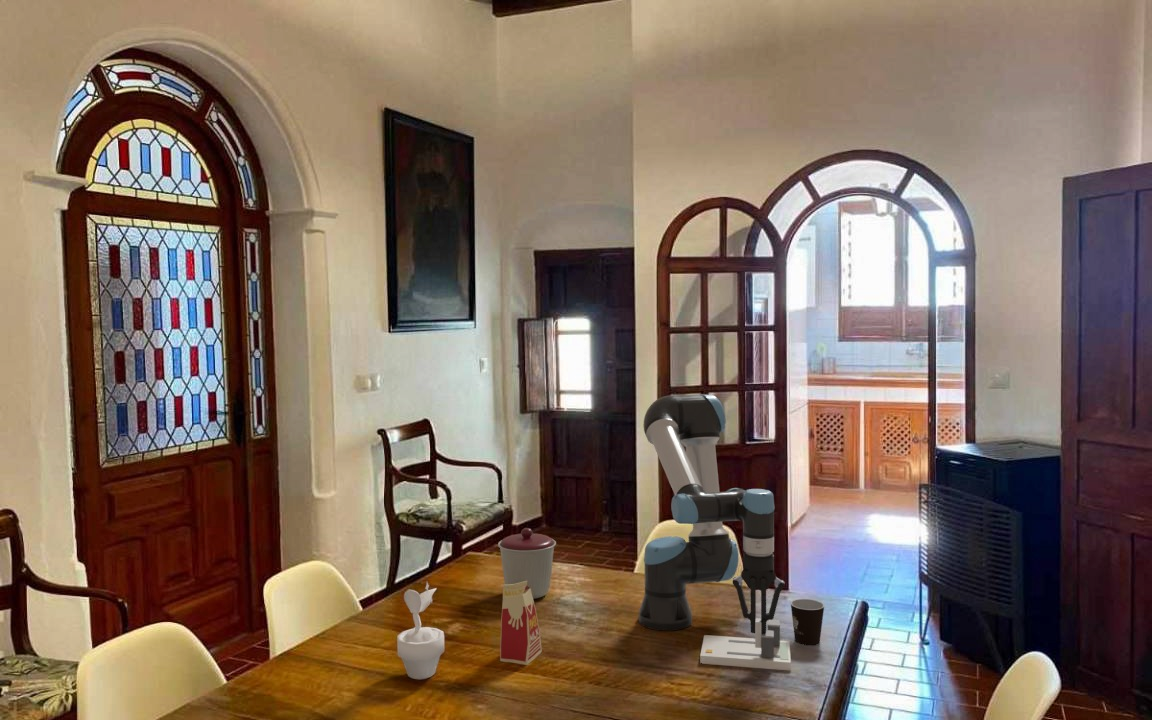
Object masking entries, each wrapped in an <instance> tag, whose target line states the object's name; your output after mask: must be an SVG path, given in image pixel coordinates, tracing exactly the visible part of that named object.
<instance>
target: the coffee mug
mask: <svg viewBox="0 0 1152 720" xmlns="http://www.w3.org/2000/svg"><path fill="white" fill-rule="evenodd" d="M790 607H791V610H790V611H791V616H792V617H791V618H792V624H793V633H794V634H793V635H794V641H795V643H796V644H798V645H801V646H807V647H812V646H817V645H819V644H820V643H821V635H822V627H823V621H824V620H823V618H824V611H825V604H824V603H823V602H822V601H818V600H817V599H816V600H815V599H811V598H810V599H809V598H798V599H794V600H791V602H790Z"/></svg>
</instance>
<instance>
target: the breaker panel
mask: <svg viewBox="0 0 1152 720" xmlns="http://www.w3.org/2000/svg"><path fill="white" fill-rule="evenodd" d="M699 656H700V657H699V659H700V660H699V662H700V663H699V664H701V663H702V664H703V665H704V664H705V665H715V666H716V665H717V666H728V667H731V666H732V667H741V668H752V669H753V668H755V669H766V670H767V669H768V670H780V671H792V669H791V668H792V666H791V665H792V659H791V645H790V640H781V639H780V646H774V658H767V657H761V648H755V638H752V637H738V636H737V637H736V636H726V635H725V636H723V635H708V634H704V635H703V640H702V645H701V650H700V655H699Z"/></svg>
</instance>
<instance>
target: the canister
mask: <svg viewBox="0 0 1152 720" xmlns="http://www.w3.org/2000/svg"><path fill="white" fill-rule="evenodd" d="M556 545H557V541H556V540H554V539H553V538H551V537H549V536H548V535H546V534H542V533H534V532H533V530H532V528H530V527H524V528H523V529H522V530H521V532H520V533H517V534H511V535H509V536H506V537H504V538H503V539H501V540H500V541H498V544H497V546H498V548H500V557H501V566H502V575H503V579H504V585H508V584H516V583H520V582H524V581H527V580H528V581H527V586H528V587H530V588H531V592H532V596H533V600H536V599H539V598H542V597H544V596H546V595H547V594H548V592H549V590H550V586H551V579H552V571H553V561H554V560H553V558H554V550H555V546H556Z"/></svg>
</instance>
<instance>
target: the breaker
mask: <svg viewBox="0 0 1152 720" xmlns="http://www.w3.org/2000/svg"><path fill="white" fill-rule="evenodd" d="M780 621H781V620H780V619H774V618H773V619H772V620H767V630H771V631H774V646H780V640H781V622H780Z"/></svg>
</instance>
